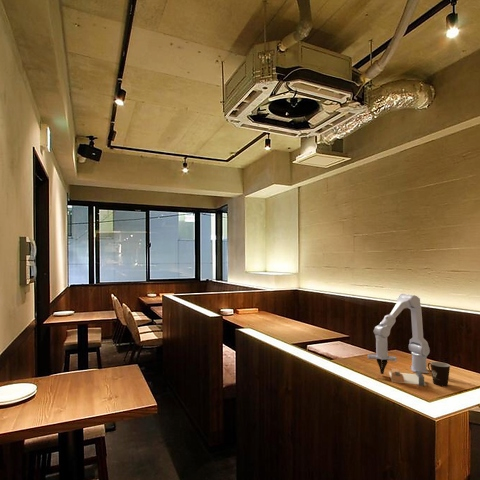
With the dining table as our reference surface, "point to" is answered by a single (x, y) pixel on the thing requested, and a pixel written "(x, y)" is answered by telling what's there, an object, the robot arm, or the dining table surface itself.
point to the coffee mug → (440, 373)
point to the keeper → (420, 378)
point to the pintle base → (407, 378)
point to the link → (396, 378)
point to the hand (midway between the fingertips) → (382, 373)
